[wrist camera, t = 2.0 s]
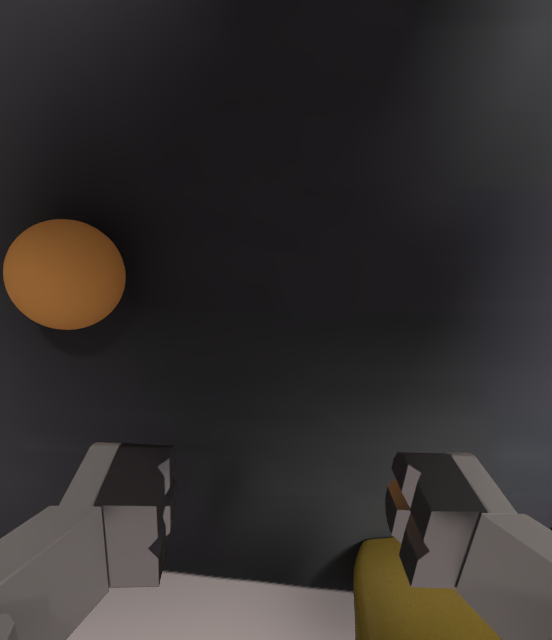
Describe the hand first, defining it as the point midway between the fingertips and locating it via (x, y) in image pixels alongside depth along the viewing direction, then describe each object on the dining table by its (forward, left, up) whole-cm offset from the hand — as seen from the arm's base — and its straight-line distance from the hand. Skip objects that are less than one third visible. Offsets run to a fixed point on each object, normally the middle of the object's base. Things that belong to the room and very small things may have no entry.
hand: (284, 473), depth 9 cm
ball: (0, -9, -13) cm, 15 cm away
